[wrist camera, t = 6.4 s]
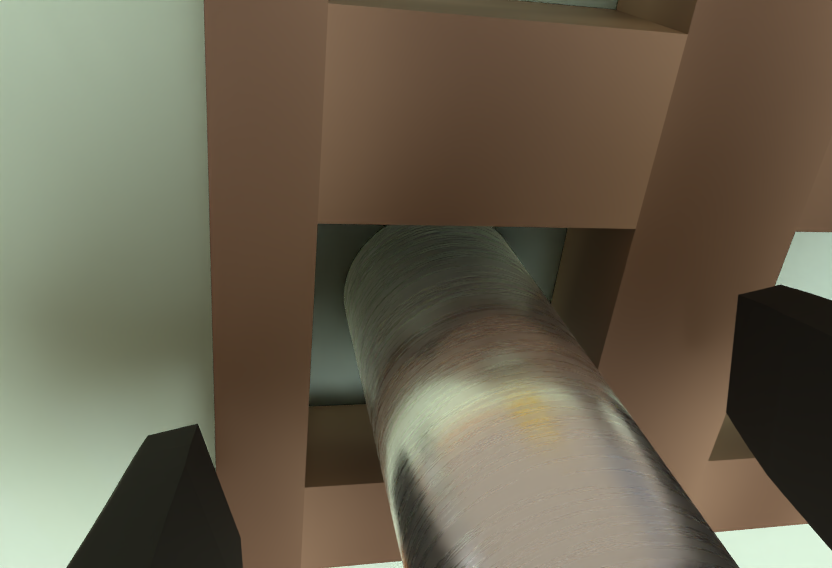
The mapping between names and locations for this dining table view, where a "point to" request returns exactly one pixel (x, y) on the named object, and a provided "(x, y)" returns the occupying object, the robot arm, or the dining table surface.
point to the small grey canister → (502, 419)
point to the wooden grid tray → (505, 215)
